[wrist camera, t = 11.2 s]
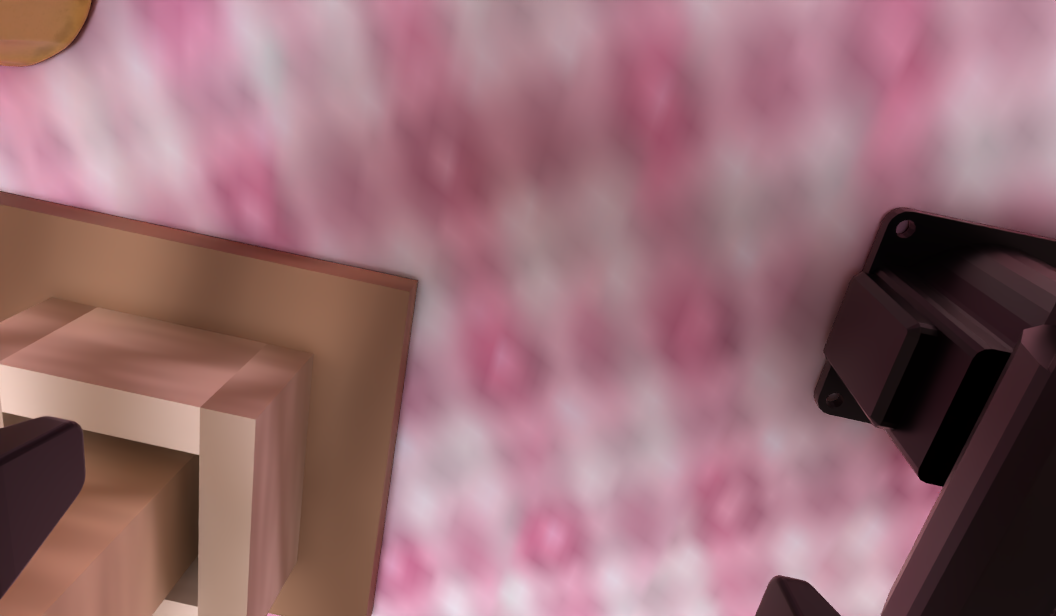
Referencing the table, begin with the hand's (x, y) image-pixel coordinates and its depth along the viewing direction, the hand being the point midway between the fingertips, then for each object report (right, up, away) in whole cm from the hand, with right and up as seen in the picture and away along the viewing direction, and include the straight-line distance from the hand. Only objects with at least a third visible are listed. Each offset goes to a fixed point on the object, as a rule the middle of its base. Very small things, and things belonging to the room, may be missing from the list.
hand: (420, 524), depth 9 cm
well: (-10, -1, +16) cm, 19 cm away
